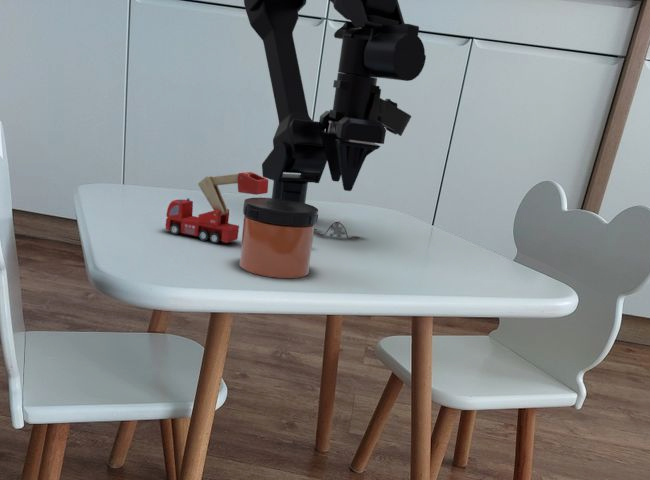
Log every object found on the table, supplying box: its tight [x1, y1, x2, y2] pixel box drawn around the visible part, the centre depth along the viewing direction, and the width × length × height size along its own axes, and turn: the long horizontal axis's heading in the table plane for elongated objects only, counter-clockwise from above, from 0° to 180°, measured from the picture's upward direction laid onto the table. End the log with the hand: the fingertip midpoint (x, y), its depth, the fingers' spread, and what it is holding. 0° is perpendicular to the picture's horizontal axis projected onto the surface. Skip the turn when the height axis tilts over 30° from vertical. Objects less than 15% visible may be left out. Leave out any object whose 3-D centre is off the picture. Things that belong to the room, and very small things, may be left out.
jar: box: [239, 214, 316, 279], centre depth 81 cm, size 8×8×7 cm
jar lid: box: [242, 197, 319, 226], centre depth 80 cm, size 9×9×2 cm
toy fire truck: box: [165, 171, 269, 244], centre depth 91 cm, size 3×14×10 cm, turn 68°
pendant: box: [314, 220, 361, 240], centre depth 106 cm, size 8×4×3 cm, turn 88°
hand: (341, 185), depth 103 cm, fingers open, 9 cm apart
